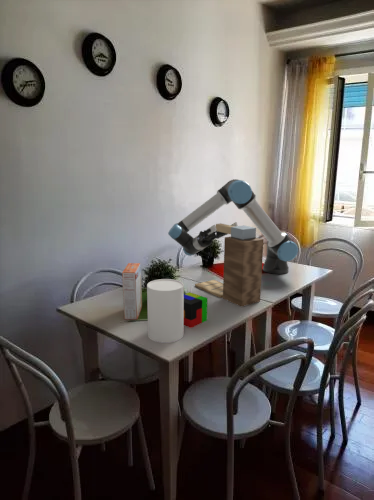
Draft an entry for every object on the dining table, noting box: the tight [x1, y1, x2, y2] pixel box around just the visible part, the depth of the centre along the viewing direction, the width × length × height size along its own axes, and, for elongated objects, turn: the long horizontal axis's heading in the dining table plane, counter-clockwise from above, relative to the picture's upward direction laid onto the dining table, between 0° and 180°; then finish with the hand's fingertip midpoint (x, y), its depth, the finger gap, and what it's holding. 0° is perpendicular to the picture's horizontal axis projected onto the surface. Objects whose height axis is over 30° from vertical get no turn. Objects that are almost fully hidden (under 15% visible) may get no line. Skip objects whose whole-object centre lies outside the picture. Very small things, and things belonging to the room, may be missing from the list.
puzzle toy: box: [184, 292, 208, 329], centre depth 155 cm, size 10×10×10 cm
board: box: [194, 279, 223, 299], centre depth 194 cm, size 13×21×1 cm, turn 35°
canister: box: [146, 278, 185, 344], centre depth 142 cm, size 14×14×20 cm
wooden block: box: [222, 236, 264, 308], centre depth 177 cm, size 12×13×30 cm
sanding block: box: [215, 222, 257, 241], centre depth 178 cm, size 8×22×5 cm, turn 35°
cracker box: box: [121, 262, 143, 321], centre depth 161 cm, size 14×6×21 cm, turn 178°
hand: (226, 225), depth 182 cm, fingers open, 13 cm apart
